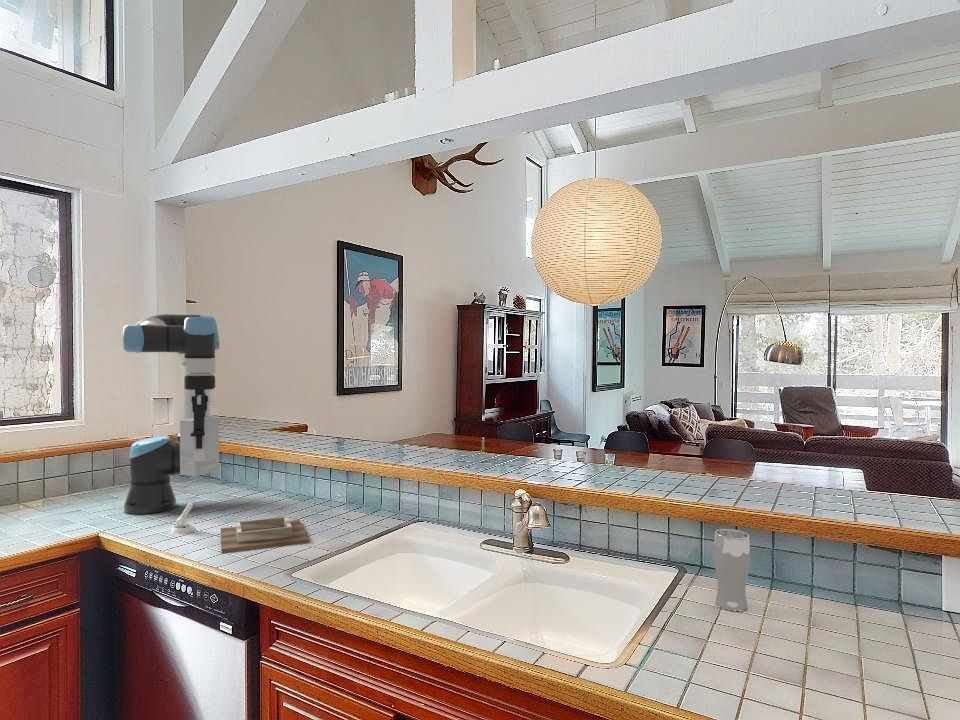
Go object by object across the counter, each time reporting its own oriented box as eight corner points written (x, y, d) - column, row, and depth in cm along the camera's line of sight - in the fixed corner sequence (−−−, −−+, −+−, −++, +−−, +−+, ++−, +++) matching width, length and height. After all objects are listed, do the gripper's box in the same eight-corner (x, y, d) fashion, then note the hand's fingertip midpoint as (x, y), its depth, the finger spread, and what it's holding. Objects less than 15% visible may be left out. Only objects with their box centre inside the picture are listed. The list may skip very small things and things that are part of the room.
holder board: (220, 531, 172) (220, 519, 172) (299, 523, 181) (299, 511, 181) (221, 552, 153) (221, 539, 153) (308, 542, 163) (308, 529, 162)
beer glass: (707, 599, 126) (708, 528, 126) (738, 598, 126) (739, 528, 126) (723, 613, 119) (724, 539, 119) (756, 612, 119) (757, 538, 119)
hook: (201, 519, 170) (183, 508, 168) (183, 545, 171) (165, 535, 170) (209, 508, 176) (191, 498, 174) (191, 534, 177) (174, 524, 176)
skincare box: (204, 469, 164) (204, 416, 164) (220, 471, 162) (220, 417, 162) (178, 475, 157) (178, 419, 156) (195, 477, 154) (195, 420, 154)
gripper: (186, 373, 168) (186, 452, 168) (181, 376, 147) (181, 465, 148) (215, 373, 171) (215, 450, 171) (214, 375, 150) (214, 463, 151)
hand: (199, 457), depth 159 cm, fingers closed on skincare box, 10 cm apart
